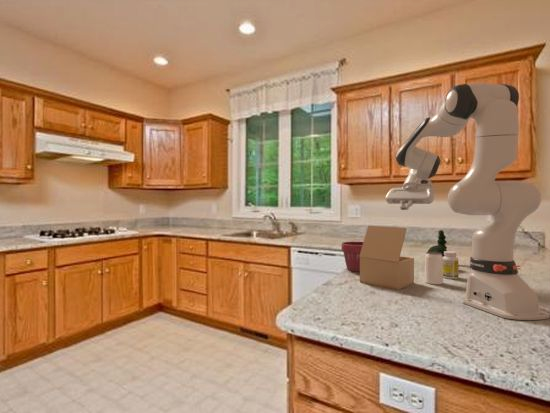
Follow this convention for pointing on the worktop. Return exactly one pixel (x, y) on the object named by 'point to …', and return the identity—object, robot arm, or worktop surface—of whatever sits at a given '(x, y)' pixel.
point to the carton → (387, 272)
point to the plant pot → (352, 255)
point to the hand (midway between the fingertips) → (403, 208)
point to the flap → (383, 243)
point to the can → (433, 268)
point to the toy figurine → (440, 244)
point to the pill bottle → (450, 265)
